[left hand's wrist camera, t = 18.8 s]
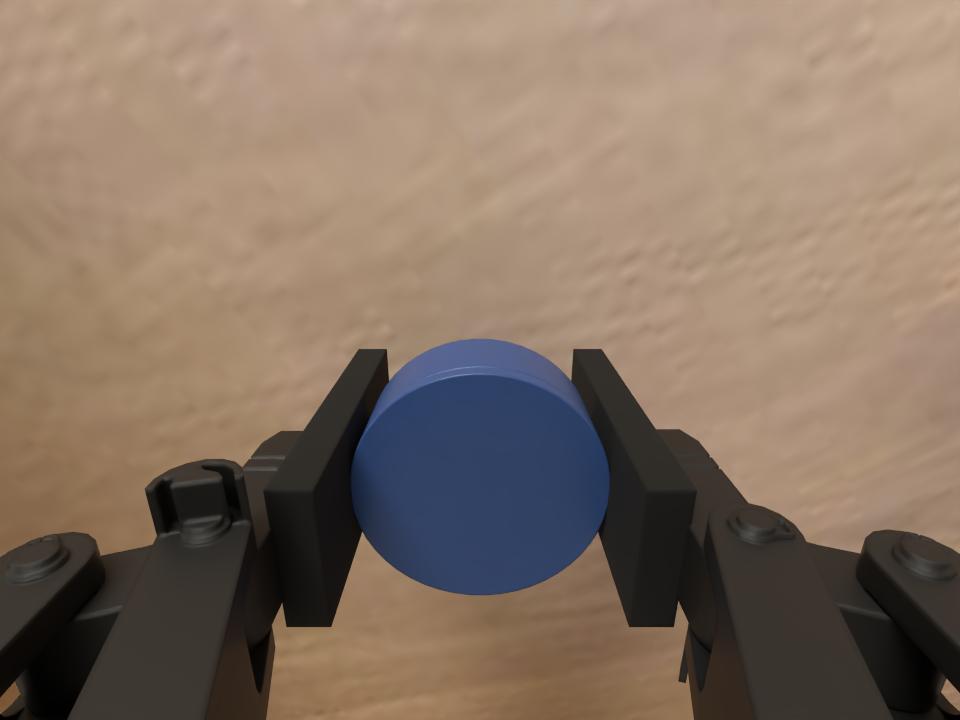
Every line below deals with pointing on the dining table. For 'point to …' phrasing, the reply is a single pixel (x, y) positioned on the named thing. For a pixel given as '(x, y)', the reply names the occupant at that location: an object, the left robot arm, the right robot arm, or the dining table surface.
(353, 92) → the dining table surface
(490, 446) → the lid
